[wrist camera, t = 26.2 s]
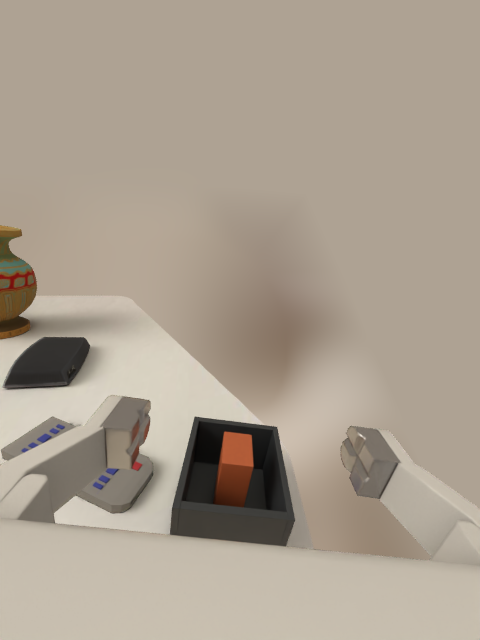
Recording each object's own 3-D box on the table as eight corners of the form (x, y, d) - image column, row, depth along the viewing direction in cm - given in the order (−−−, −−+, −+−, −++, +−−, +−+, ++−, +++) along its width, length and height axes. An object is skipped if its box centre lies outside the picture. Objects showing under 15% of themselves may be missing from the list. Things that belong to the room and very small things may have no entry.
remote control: (54, 424, 44) (52, 414, 44) (158, 469, 39) (158, 459, 39) (2, 458, 37) (0, 448, 36) (122, 519, 32) (122, 508, 31)
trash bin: (265, 469, 42) (277, 426, 39) (276, 571, 29) (295, 520, 26) (189, 460, 42) (194, 416, 38) (167, 561, 29) (172, 507, 25)
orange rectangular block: (240, 487, 38) (251, 434, 34) (240, 523, 33) (253, 466, 29) (215, 484, 38) (224, 431, 34) (211, 520, 33) (221, 463, 29)
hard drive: (-3, 390, 50) (-6, 373, 48) (39, 347, 67) (38, 334, 65) (71, 386, 54) (69, 371, 53) (93, 347, 71) (92, 334, 70)
